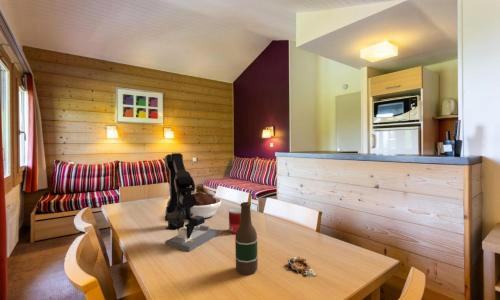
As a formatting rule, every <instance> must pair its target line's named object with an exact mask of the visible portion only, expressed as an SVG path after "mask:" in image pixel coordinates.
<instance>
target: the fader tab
mask: <svg viewBox="0 0 500 300" xmlns="http://www.w3.org/2000/svg"><path fill="white" fill-rule="evenodd" d="M177 233H178V238H182V239H184V242H186V241H188V240H190V239H191V236H190V238H189V239H188V238H187V227H186V226H184V227H181V228H180V229H178V230H177Z"/></svg>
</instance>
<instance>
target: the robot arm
mask: <svg viewBox="0 0 500 300" xmlns="http://www.w3.org/2000/svg"><path fill="white" fill-rule="evenodd" d="M164 163H165V167H166V168H167V169H168V171H169V199H168V201H167V204H166V207H165V210H164V211H165V212H164V213H165V214H164V215H165V216H164V221H165V222H167V226H166V227H165V228H166V229H168V230H174V231H175V230H177V231H178V229H180V228H181V227H187V238H188V239H189V238H190V236H191V234H192V231H193V229H194V228H195V227H197V226H198V227H199V226H200V225H203V224H204V223H206V222H205V221H206V219H205V218H204V217H203V216H195V217H191V216H193V213H191V208H192V207H193V206H194V205H195V203H196V198H195V196H193V195H192V194H193V193H192V192H195V191H196V190H195V189H196V184H195V181H194V177H192V175H191V173H190V172H189V171H187V170H186V167H185V165H184V157H183V154H182V153H180V152H178V153H176V152H175V153H170V154H167V155H165V156H164ZM185 222H187V223H186V224H185Z"/></svg>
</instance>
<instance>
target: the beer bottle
mask: <svg viewBox="0 0 500 300" xmlns="http://www.w3.org/2000/svg"><path fill="white" fill-rule="evenodd" d="M251 206H252V204H251V202H249V201H243V202H240V209H241V222H240V226H239V228H238V230H237V232H236V234H235V236H234V237H235V240H234V241H235V242H234V243H235V248H234V249H235V271H237V272H238V273H239V275H244V276H250V275H253V274H255V273H256V271H257V270H258V263H259V262H258V261H259V260H258V233H257V231H256V228H255V226H254V225H253V222H252V214H251V211H252V210H251Z"/></svg>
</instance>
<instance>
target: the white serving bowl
mask: <svg viewBox="0 0 500 300" xmlns="http://www.w3.org/2000/svg"><path fill="white" fill-rule="evenodd" d="M191 194H192V195H193V196H195V198H196V203H195V205H194V206H193V207H192V208H191V213H193V216H191V217H195V216H203V217H204V219H205V218H210V217H213V216H215V215H216V213H217V211H218V209H219V208H220V206H221V204H222V200H221V198H218V197H214V196H213V194H211V193H204V192H202V191H197V192H195V193H191Z"/></svg>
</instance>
